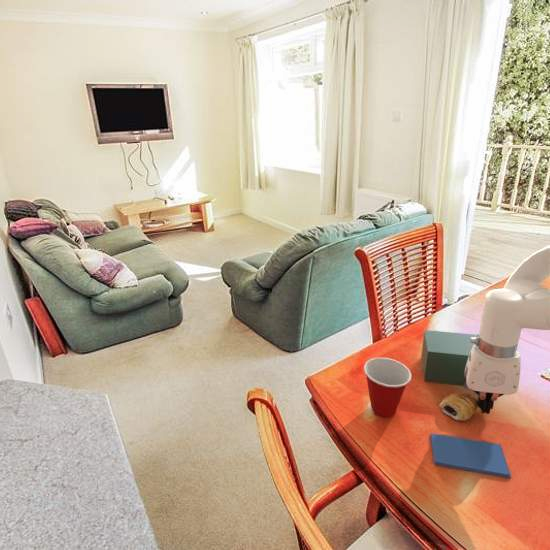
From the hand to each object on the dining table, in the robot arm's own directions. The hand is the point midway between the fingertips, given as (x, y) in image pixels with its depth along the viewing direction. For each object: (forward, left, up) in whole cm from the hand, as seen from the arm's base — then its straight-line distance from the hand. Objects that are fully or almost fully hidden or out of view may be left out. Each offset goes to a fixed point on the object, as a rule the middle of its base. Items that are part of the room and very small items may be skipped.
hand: (484, 409), depth 89 cm
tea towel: (+6, +13, -1) cm, 15 cm away
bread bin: (+5, -15, -1) cm, 15 cm away
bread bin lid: (+4, -15, +8) cm, 17 cm away
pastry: (+6, 0, -1) cm, 6 cm away
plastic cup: (+23, +4, -1) cm, 23 cm away
